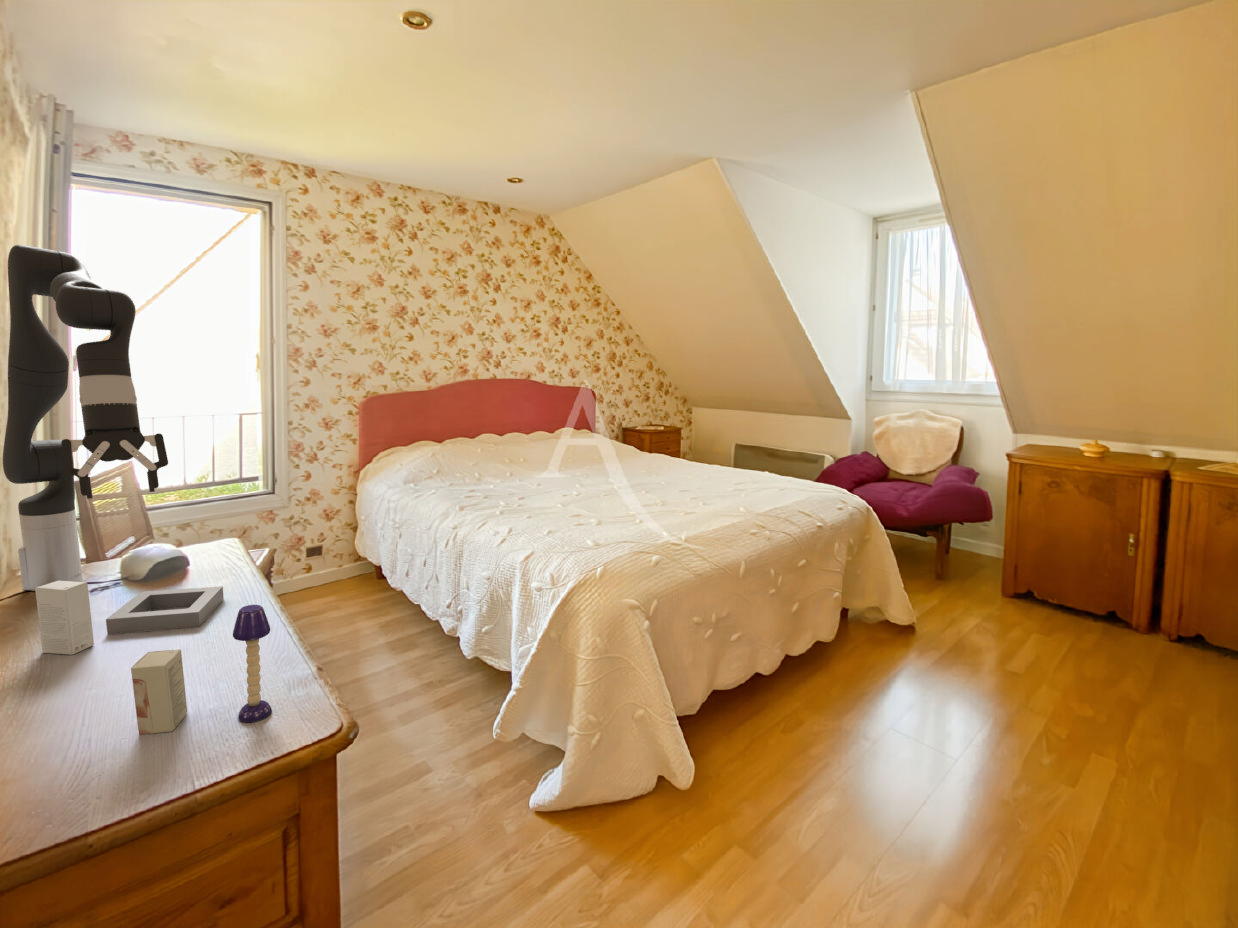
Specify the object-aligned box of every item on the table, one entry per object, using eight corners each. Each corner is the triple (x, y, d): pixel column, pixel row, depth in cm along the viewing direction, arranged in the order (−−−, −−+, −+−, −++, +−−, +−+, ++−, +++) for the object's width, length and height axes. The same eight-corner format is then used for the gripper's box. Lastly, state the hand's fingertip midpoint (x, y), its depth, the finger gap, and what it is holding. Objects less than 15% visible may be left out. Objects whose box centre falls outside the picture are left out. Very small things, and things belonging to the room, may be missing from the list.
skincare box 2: (154, 715, 89) (148, 650, 87) (188, 712, 90) (183, 648, 88) (135, 736, 84) (128, 667, 82) (171, 732, 85) (165, 664, 83)
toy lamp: (281, 707, 92) (275, 601, 89) (264, 724, 87) (257, 614, 85) (248, 707, 92) (242, 601, 89) (230, 724, 87) (222, 613, 84)
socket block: (107, 634, 114) (105, 619, 114) (142, 605, 129) (141, 591, 128) (199, 626, 119) (198, 612, 119) (223, 599, 133) (222, 586, 133)
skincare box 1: (95, 645, 110) (89, 581, 108) (72, 655, 106) (65, 590, 104) (65, 642, 111) (58, 579, 109) (40, 653, 106) (33, 587, 105)
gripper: (159, 403, 114) (170, 489, 114) (56, 407, 105) (69, 500, 106) (161, 399, 108) (172, 490, 109) (52, 402, 99) (65, 501, 100)
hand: (121, 495), depth 107 cm, fingers open, 8 cm apart
